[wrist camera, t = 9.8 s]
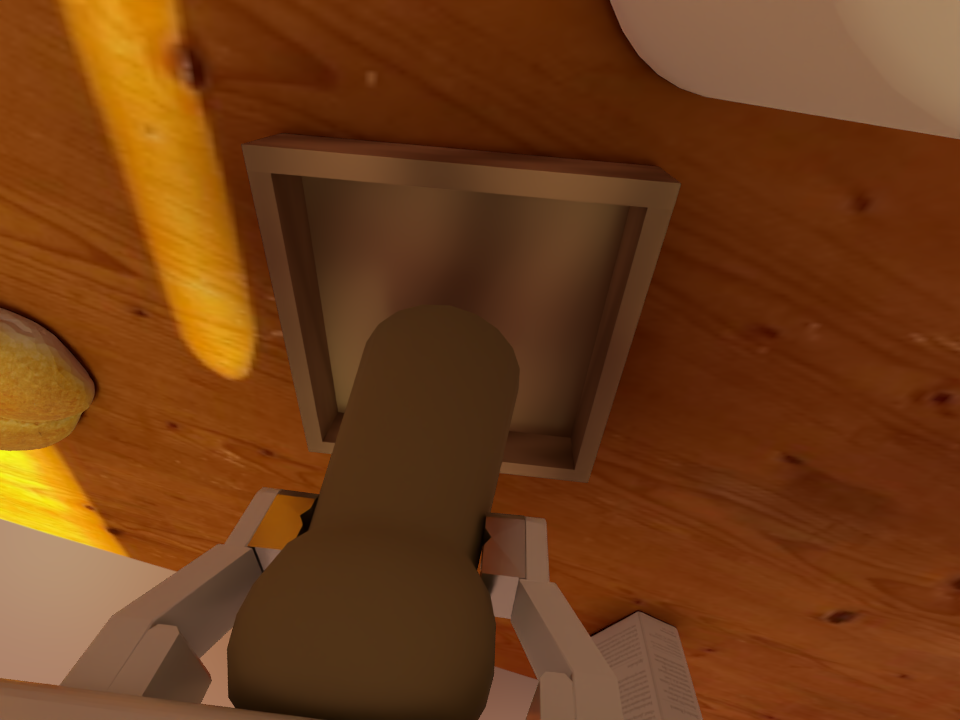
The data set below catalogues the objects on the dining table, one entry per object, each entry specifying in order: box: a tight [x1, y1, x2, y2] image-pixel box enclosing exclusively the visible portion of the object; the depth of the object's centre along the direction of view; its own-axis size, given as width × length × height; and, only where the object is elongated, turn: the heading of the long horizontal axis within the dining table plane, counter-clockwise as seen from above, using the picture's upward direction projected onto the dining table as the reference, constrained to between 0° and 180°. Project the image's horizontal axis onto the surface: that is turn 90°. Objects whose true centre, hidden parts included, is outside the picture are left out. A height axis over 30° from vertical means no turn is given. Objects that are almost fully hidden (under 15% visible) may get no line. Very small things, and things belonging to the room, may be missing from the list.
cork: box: [227, 305, 520, 720], centre depth 12 cm, size 6×6×11 cm
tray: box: [241, 133, 681, 483], centre depth 19 cm, size 14×14×3 cm
